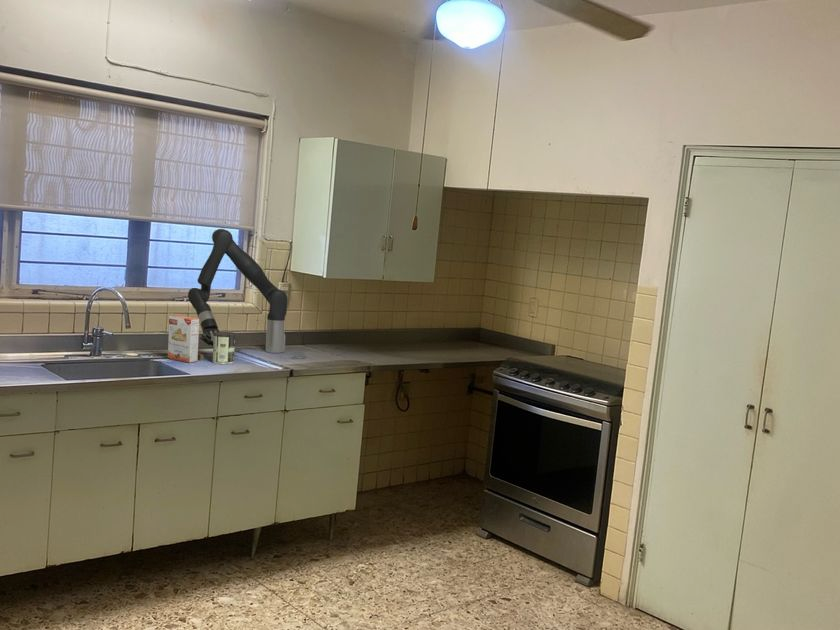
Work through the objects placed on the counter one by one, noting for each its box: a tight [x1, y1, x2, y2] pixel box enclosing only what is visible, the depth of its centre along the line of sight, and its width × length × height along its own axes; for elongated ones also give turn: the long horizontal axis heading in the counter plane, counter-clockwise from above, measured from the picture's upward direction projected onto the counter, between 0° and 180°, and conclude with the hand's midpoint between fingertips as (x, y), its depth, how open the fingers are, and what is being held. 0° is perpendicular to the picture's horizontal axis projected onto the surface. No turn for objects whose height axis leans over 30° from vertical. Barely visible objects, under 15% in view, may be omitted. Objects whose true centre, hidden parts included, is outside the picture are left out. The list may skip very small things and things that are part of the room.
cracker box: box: [167, 314, 200, 364], centre depth 375 cm, size 14×6×21 cm, turn 62°
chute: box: [198, 352, 204, 361], centre depth 389 cm, size 16×10×2 cm, turn 131°
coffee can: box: [212, 331, 236, 365], centre depth 379 cm, size 10×10×14 cm
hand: (217, 350), depth 383 cm, fingers closed
